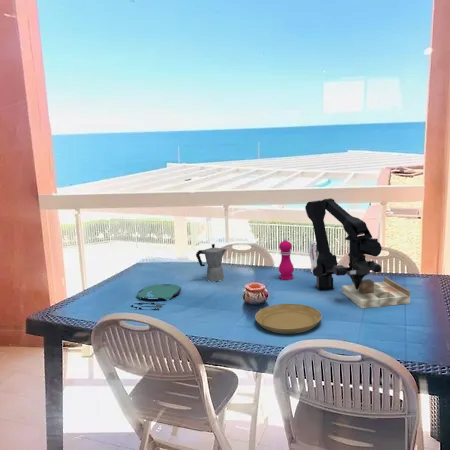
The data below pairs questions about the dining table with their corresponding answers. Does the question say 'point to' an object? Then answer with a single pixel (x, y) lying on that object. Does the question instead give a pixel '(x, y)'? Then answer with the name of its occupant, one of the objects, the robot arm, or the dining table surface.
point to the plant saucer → (288, 318)
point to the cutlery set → (159, 292)
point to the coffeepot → (213, 262)
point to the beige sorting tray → (379, 294)
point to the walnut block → (366, 286)
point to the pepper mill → (285, 260)
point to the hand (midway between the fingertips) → (356, 289)
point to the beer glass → (313, 254)
